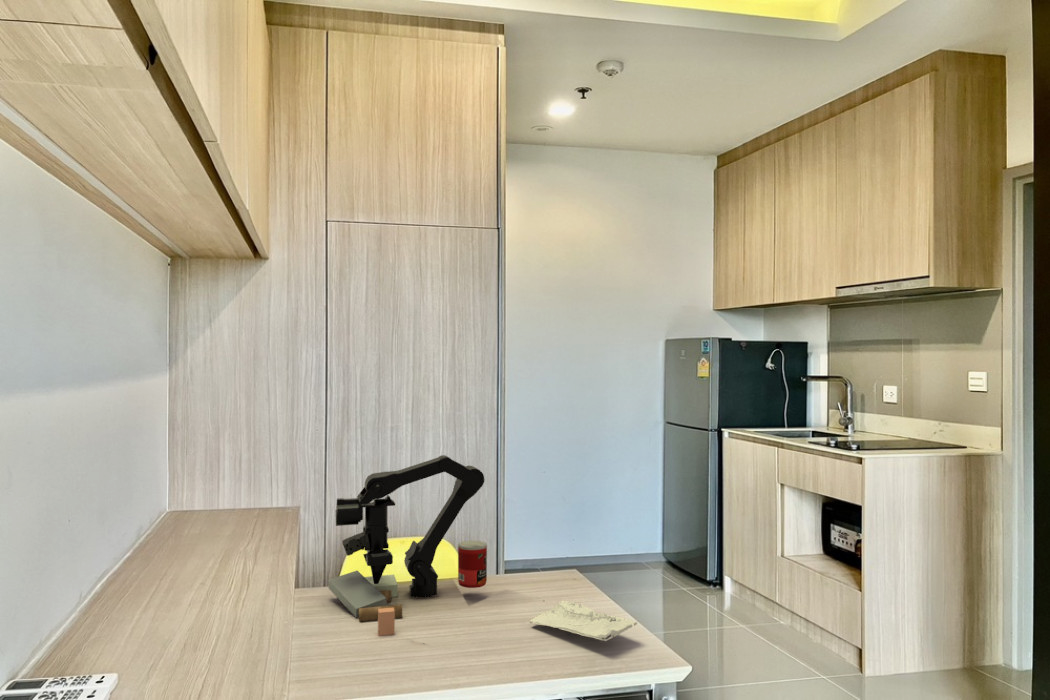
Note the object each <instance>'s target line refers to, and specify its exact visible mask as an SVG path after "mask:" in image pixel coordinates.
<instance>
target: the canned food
mask: <svg viewBox="0 0 1050 700" xmlns="http://www.w3.org/2000/svg"><path fill="white" fill-rule="evenodd" d="M457 545H458V547H457V548H458V549H457V566H458V567H457V569H458V570H457V575H458V576H457V582H458V585H459V586H460V587H462V588H467V589H476V588H477V589H478V588H482V587H484V586H485V585H486V584H487V581H488V580H487V579H488V577H487V575H488V574H487V573H488V572H487V570H488V569H487V567H488V565H487V563H488V561H487V560H488V546H487V543H486V542H484V541H481V540H464V541H461V542H459V543H458V544H457Z"/></svg>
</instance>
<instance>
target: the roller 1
mask: <svg viewBox="0 0 1050 700" xmlns="http://www.w3.org/2000/svg"><path fill="white" fill-rule="evenodd" d="M379 592H380V593H381V594H382V595H383V596H385V597H386V603H392V597H391V590H381V591H379Z"/></svg>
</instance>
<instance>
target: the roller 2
mask: <svg viewBox="0 0 1050 700" xmlns="http://www.w3.org/2000/svg"><path fill="white" fill-rule="evenodd" d="M393 607H394V611H395V619H400V618H403V605H402V604H393V605H392V604H391V605H386V606H380V607H369V608H359V617H358V621H359V623H360V622H371V621H378V609H383V608H393Z"/></svg>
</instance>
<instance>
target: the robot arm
mask: <svg viewBox="0 0 1050 700" xmlns="http://www.w3.org/2000/svg"><path fill="white" fill-rule="evenodd" d="M443 473H447V474H448V475H450V476H452V477H454V478H455V482H454V485H453V488H452V489H453V490H452V491H451V494H450V495H449V497H448V499H447V501H446V502H445V504H444V505H443V507H442V508H441V509H440V512H439V513H438V514H437V516H436V518H435V519H434V521H433V523H432V524H431V526H430V527H429V529H428V530H427V532H426V534H425V535H424V537H423V538H422V539H420V541H418V542H416V540H412V542H411V544H410V546H409V548H408V550H406V551H405V552H404V554H405V557H404V560H403V561H404V566H405V568H406V570H407V572H408V573H409V575H410V576H411V577H413V578H412V579H411V584H410V585H409V596H410V598H418V599H419V598H420V599H425V598H426V599H428V598H431V597H434V596H438V578H439V575H438V574H437V571H436V570H435V568H434V567H433V566H432V564H433V562H434V559H435V555H436V552H437V548H438V546H439V545H440V543H441V542H442V540H443V539H444V537H445V535H446V534H447V533H448V531H449V529H450V527H451V526H452V524H453V522H454V521H455V520H456V519H457V516H458V515H459V513H460V512H461V510H462V508H463V507H464V505H465V504H466V503H467V502H468V500H470V499H471V498H472V497H474V496H475V495H476V494H477V493H478V492H479V490H480V489H481V488H482V487H483V486H484V484H485V480H486V479H485V475H484V473H483V472H482V471H481V470H480V469H478V467H475V466H473V465H466V466H465V465H463V463H462V464H461V463H460V462H458V461H455V460H454V459H452V458H450V457H449V456H447V455H444V454H442V455H440V456H438V457H436V458H433V459H429V460H426V461H423V462H421V463H417V464H413V465H411V466H408V467H405V468H402V469H399V470H393V471H392V470H391V471H381V472H374V473H371V474H369V475H368V476H367V477H366V479H365V481H364V487H363V488H362V490H361V491H359V493H358V495H357V496H356V498H343V497H342V498H341V497H340V498H339V497H338V498H336V509H335V510H334V511H335V512H334V513H335V527H338V526H339V527H340V526H354V525H356V526H357V525H359V523H361V522H362V521H363V520H364V525H363V527H362V532H360V533H357V534H354V535H352V536H350V537H347V538H345V539H343V540H342V541H341V542H342V546H343V549H344V551H345V554H346V556H349V557H350V556H351V555H353V554H355V553H356V552H358V551H365V552H366V553H364V554H362V555H363V558H364V561H365V563H366V566H369V567H370V572H371V576H372V577H373V582H374V584H378V583H379V581H380V579H381V576H382V575H383V574H384V572H385V570H386V567H387V565H392V564H393V563H394V560H393V559H394V558H393V557H394V556H393V553H392V552H391V551H390V550H389V549H390V548H389V543H388V533H389V526H388V525H389V524H388V523H389V522H388V521H389V520H388V517H389V516H388V513H389V511H388V509H389V507H395V506H396V503H395V501H394V500H393V499H392V498H391V497H390V494H392V493H394V492H395V491H396V490H397V491H398V489H400V488H401V487H403V486H406V485H408V484H411V483H415V482H417V481H420V480H423V479H427V478H430V477H433V476H435V475H439V474H443ZM364 509H365V510H364Z"/></svg>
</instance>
